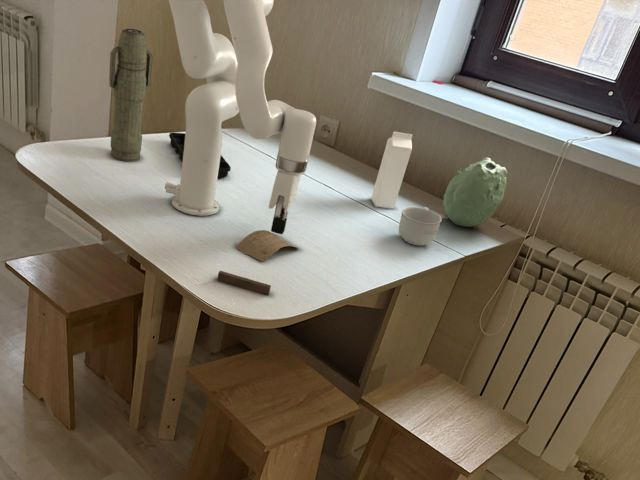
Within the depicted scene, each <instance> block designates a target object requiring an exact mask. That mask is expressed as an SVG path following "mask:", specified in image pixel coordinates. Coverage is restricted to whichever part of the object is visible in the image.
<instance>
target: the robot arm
mask: <svg viewBox="0 0 640 480" xmlns="http://www.w3.org/2000/svg"><path fill="white" fill-rule="evenodd" d="M274 1H275V0H222V3H223V9H224V13H225V17H226V21H227V24H228V28H229V32H230V37H231V40H232V42H231V41H230V39H229V38H228V37H227V36H225V35H223V34H221V33H218V32H213V29H212V23H211V18H210V17H211V16H210V13H209V9H208V7H207V5H206V3H205V1H204V0H168V4H169V7H170V12H171V15H172V19H173V24H174V30H175V31H174V32H175V35H176V40H177V41H176V42H177V45H178V50H179V56H180V60H181V65H182V67H183V70H184V72H185V73H186V74H187V76H189V77H190V78H192V79H195V80H203V79H205V80H206V83H204V84H201V85H199V86H197V87H195V88H193V90H192V91H190V93H188V96H187V97H186V100H185V104H184V117H185V132H184V133H185V143H184V154H183V162H182V161H181V162H182V164H181V171H180V182H179V183H178V184H175V183H171V182H168V181H166V182H165V185H164V190H165V193H166V194H169V195H173V197H172V199H171V200H172V201H171V204H172V206H173V207H174V208H175V209H176V210H178V211H179V212H182V213H184V214H188V215H192V216H200V217H203V216H205V217H207V216H212V215H214V214H216V213H218V212H219V210H220V203H219V202H218V201H217V200H216V199H215V197H216V190H217V185H218V184H217V183H218V178H217V177H218V171H219V164H220V157H221V156H222V148H223V131H222V123H223V122H225V121H228V120H229V119H232V118H234V117H236V116H237V115H238V114H239V116H240V120H241V123H242V126H243V127H244V130H245V131H246V133H247V134H248V135H249V136H250V137H251V138H252V139H255V140H265V139H268V138H270V137H273V136H274V135H278V134H280V140H279V144H278V145H279V146H278V151H277V156H276V160H275V165H274V166H275V169H276V170H277V173H276V175H275V179H274V182H273V186H272V191H271V196H270V199H269V204H268V208H269V210H271V209H274V214H273V219H272V224H271V227H270V232H271V233H273V234H274V233H275V234H279V235H283V234H284V233H285V231H286V230H285V229H286V226H287V220H288V218H287V217H288V214H289V210H290V209H291V207H292V206H293V204H294V203H295V200H296V196H297V193H298V189H299V184H300V180H301V179H300V178H301V176H303V175H304V174H306V172H307V166H308V163H309V158H310V154H311V148H312V144H313V140H314V135H315V131H316V126H317V117H316V115H315V114H313V113H312V112H310V111H308V110H304V109H298V108H295V107H293V106H291V105H289V104H288V103H286V102H284V101H282V100H279V99H271V100H268V99H267V96H266V91H265V90H266V89H265V77H266V72H267V68H268V67H269V64H270V61H271V59H272V56H273V53H274V49H273V44H272V40H271V36H270V32H269V27H268V23H267V19H266V17H267V16H268V15H269V14H270V13H271V11H272V9H273V6H274Z"/></svg>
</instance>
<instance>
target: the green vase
mask: <svg viewBox="0 0 640 480" xmlns="http://www.w3.org/2000/svg"><path fill="white" fill-rule="evenodd" d="M507 175H508V170H507V168H506V167H505V166H501V165H500V164H496V163H495V161H493V160H492V159H491V158H490V157H487V156H486V157H482V160H480V161H477V162H475V163H472V164H468V166H467V167H466V168H463V166H460V168H459V169H457V171H456V173H455V175H454V177H453V178H451V180H450V181H449V182H448V185H447V187H446V189H445V193H444V194H443V196H442V198H443V201H442V204H443V208H444V211H445V214H446V215H447V218H448V219H450V221H451V222H452V223H454V224H455V225H457V226H460V227H467V228H473V227H477V226H479V225H483V224H485V223H487V221H489V220H490V219H491V218H492V216H494V214H495V213H496V211H497V209H498V208H499V207H500V205H501V203H502V201H503V199H504V195H505V191H506V187H507V180H508V177H506V176H507Z"/></svg>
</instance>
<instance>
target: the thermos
mask: <svg viewBox="0 0 640 480" xmlns="http://www.w3.org/2000/svg"><path fill="white" fill-rule="evenodd" d="M117 43H118V44H117V46H115V47H113V48H112V50H111V51H110V52H109V53H110V55H109V77H108V79H109V81H108V83H109V87H110V88H112V89H113V93H112V94H113V97H114V108H113V109H114V111H113V127H112V131H111V133H110V148H111V149H110V150H111V151H110V156H111V158H113V159H115V160H117V161H121V162H128V163H132V162H137V161H139V160H140V159H141V152H142V143H143V133H142V121H143V107H144V100H145V99H146V91H147V90H148V89H149V88H150V87H151V82H152V70H153V68H152V67H153V55H152V53H151V51H150V50H149V49H147V47H148V45H147V39H146V34H145V33H144V32H142V30H139V29H136V28H124V29H122V30H121V32H120V35H119V38H118V42H117ZM116 55H117V57H116ZM116 58H117V64H116ZM145 64H146V65H145Z"/></svg>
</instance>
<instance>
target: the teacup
mask: <svg viewBox="0 0 640 480" xmlns="http://www.w3.org/2000/svg"><path fill="white" fill-rule="evenodd" d="M442 221H443V220H442V216H441V215H439V214H438V213H437V212H435V211H432V210H429V208H428V207H426V206H424V207H417V206H416V207H415V206H411V207H405V208H403V209H402V211H401V216H400V220H399V224H398V233H399V235H400V237H401V238H402V239H403V240H404V241H405V242H406V243H408V244H410V245H413V246H419V247H420V246H425V245H427V244H429V243H432V242H433V241H434V240H435V239H436V236H437V235H438V231H439V228H440V225H441V222H442Z"/></svg>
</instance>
